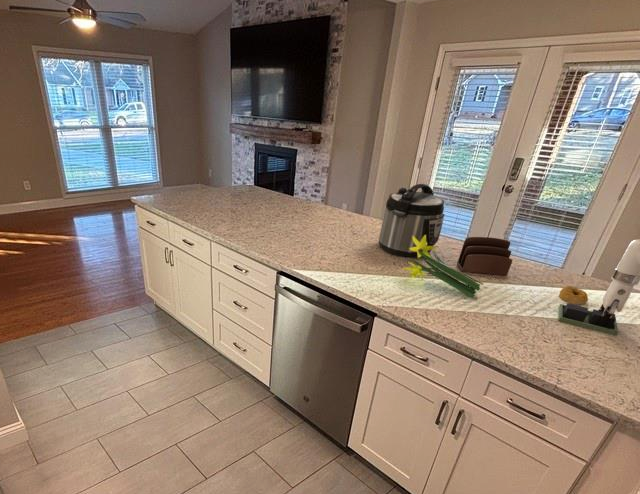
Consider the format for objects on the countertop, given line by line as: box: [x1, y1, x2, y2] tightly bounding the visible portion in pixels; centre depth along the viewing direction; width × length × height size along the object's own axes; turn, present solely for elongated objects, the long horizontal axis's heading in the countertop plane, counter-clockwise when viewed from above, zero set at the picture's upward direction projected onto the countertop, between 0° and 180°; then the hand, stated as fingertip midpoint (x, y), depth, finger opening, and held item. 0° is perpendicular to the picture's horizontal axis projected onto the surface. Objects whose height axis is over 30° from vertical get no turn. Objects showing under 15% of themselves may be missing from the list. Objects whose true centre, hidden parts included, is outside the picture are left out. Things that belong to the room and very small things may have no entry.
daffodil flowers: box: [402, 235, 484, 299], centre depth 172 cm, size 17×15×35 cm
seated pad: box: [563, 302, 589, 322], centre depth 153 cm, size 6×5×4 cm
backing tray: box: [557, 303, 619, 337], centre depth 152 cm, size 18×14×2 cm
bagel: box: [558, 285, 589, 306], centre depth 167 cm, size 10×11×5 cm
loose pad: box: [588, 308, 617, 329], centre depth 150 cm, size 6×5×4 cm
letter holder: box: [456, 236, 514, 276], centre depth 189 cm, size 10×20×14 cm, turn 80°
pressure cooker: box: [378, 183, 445, 258], centre depth 203 cm, size 30×28×32 cm
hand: (599, 322), depth 150 cm, fingers closed on loose pad, 4 cm apart
